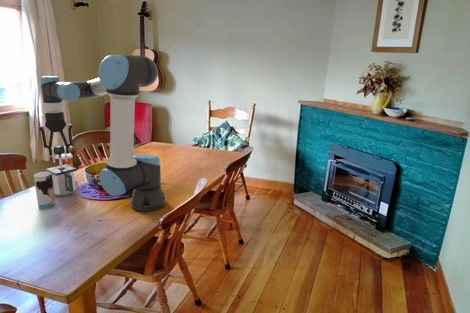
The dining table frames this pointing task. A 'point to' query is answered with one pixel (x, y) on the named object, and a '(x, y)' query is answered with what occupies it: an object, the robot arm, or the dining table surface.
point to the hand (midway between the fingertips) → (60, 161)
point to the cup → (44, 190)
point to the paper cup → (64, 162)
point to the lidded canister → (63, 180)
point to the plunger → (59, 154)
